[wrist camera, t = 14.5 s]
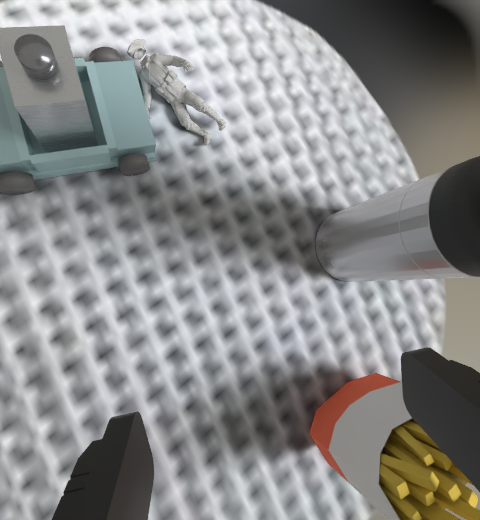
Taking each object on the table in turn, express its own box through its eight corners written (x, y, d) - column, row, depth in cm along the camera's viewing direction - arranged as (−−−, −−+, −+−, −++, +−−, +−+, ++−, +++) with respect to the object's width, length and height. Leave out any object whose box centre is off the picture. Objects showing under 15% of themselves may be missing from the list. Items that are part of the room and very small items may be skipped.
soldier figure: (189, 164, 39) (98, 83, 33) (193, 147, 43) (112, 71, 37) (236, 117, 36) (144, 17, 30) (236, 104, 39) (155, 12, 33)
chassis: (129, 64, 37) (128, 41, 34) (158, 171, 37) (160, 159, 33) (-38, 76, 32) (-60, 50, 29) (-6, 198, 32) (-23, 187, 29)
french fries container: (297, 422, 39) (419, 526, 22) (361, 365, 42) (512, 418, 25) (316, 453, 39) (452, 579, 22) (378, 395, 43) (539, 466, 25)
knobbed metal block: (83, 91, 34) (59, 8, 24) (98, 147, 34) (80, 87, 24) (32, 96, 33) (-17, 10, 23) (48, 154, 33) (6, 94, 23)
